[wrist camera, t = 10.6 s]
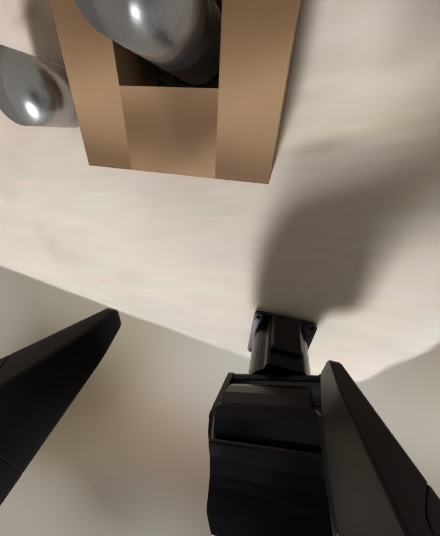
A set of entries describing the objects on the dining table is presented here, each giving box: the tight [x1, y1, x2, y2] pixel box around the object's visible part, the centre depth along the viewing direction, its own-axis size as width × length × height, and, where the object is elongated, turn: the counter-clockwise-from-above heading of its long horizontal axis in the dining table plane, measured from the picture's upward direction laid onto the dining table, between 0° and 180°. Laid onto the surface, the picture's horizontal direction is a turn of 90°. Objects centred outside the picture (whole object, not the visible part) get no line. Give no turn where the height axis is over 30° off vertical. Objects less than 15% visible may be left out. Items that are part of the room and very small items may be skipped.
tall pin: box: [74, 0, 222, 85], centre depth 10 cm, size 4×4×8 cm
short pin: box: [0, 45, 80, 128], centre depth 15 cm, size 4×4×4 cm
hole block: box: [49, 0, 301, 184], centre depth 11 cm, size 14×12×4 cm
